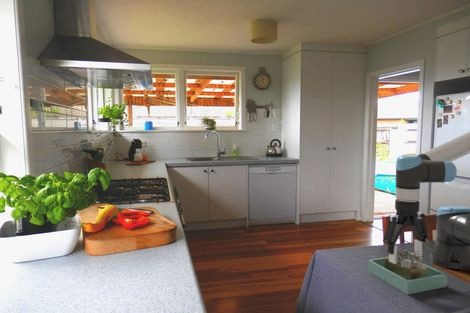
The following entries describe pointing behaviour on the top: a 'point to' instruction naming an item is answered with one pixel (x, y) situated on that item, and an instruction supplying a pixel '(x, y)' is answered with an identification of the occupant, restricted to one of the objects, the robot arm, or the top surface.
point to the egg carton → (412, 259)
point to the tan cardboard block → (406, 270)
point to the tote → (430, 282)
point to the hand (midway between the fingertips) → (405, 260)
